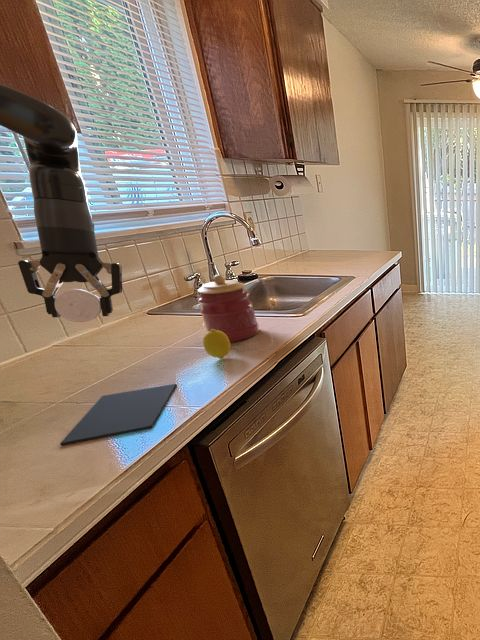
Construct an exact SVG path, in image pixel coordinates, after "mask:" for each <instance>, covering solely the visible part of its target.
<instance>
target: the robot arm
mask: <svg viewBox="0 0 480 640" xmlns="http://www.w3.org/2000/svg"><path fill="white" fill-rule="evenodd" d="M0 127H3V128H5V129H7V130H9V131H12V132H13V133H15V134H17V135H20V136H22V138H23V142H24V146H25V151H26V154H27V158H28V162H29V166H30V167H29V171H28V174H29V175H28V176H29V182H30V187H31V193H32V198H33V213H34V221H35V225H36V229H37V230H36V231H37V234H38V240H39V245H40V251H41V258H40V259H39V260H19V261H17V264H18V268H19V270H20V273H21V275H22V279H23V282H24V285H25V288H26V290H27V292H28V293H29V294H31V295H36V296H41V297H42V298H43V300H44V305H45V311H46V313H47V314H48V315H51V317H52V318H62V316H61V315H60V314H59V313H58V312H57V311H56V309H55V299H56V297H57V296H56V295H57V293H58V291H59V290H60V288H61V287H62V285H63V284H64V283H75V282H76V283H89V284H90V286H91V287H92V288H94V289H95V290H96V292H98V294H99V295H100V297H99V298H100V304H101V315H102V317H109V316H110V314H112V313H113V311H114V308H113V301H112V297H113V296H115V295H119V294H121V293H123V270H122V269H123V267H122V265H121V264H120V263H117V262H113V263H111V262H103V261H102V259H101V258H100V256H99V251H98V246H97V240H96V239H97V238H96V234H95V223H94V222H93V217H92V213H91V210H90V207H89V201H88V197H87V191H86V186H85V185H86V184H85V182H84V179H83V176H82V174H81V165H80V156H79V148H78V136H77V135H78V134H77V130H76V127H75V125H74V124H73V122H72V121H71V119H69V117H67V115H65V114H64V113H62V112H61V111H60V110H58V109H57V108H55V107H53V106H51V105H50V104H48V103H46V102H45V101H42V100H40V99H38V98H36V97H34V96H32V95H30V94H27V93H25V92H22V91H20V90H17V89H16V88H13V87H11V86H9V85H5V84H4V83H1V82H0ZM41 267H42V268H43V269H45V270H46V271H47V272H48V273H49V274H50V277H49V278H48V280H47V282H46V285H45V287H44V288H42V287H41V284H40V281H39V279H38V275H37V273H39V272H40V268H41ZM103 268H104V269H105V270H106V273H107V274H109V275H110V277H111V288H108V287H107V286H106V285H105V284H104V282H103V281H102V280H101V279H100V277H99V276H98V274H100V272H101V270H102V269H103Z"/></svg>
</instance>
